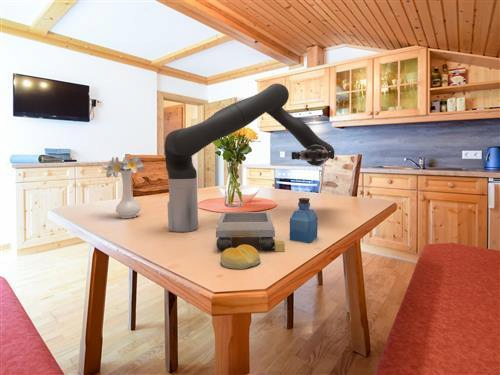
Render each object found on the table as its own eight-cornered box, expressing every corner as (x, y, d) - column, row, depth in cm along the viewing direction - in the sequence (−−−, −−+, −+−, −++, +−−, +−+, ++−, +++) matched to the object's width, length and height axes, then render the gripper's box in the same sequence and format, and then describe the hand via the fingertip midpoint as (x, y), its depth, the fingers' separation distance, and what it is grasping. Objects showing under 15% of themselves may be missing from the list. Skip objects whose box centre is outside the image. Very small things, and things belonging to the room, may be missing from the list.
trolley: (216, 252, 73) (215, 223, 73) (221, 236, 88) (221, 212, 87) (284, 251, 73) (284, 223, 73) (278, 235, 88) (278, 211, 88)
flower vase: (119, 213, 126) (116, 155, 124) (155, 215, 121) (153, 155, 118) (95, 219, 114) (91, 155, 111) (135, 222, 109) (131, 155, 106)
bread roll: (215, 261, 68) (214, 245, 67) (247, 254, 72) (247, 239, 72) (231, 273, 61) (231, 255, 60) (266, 265, 65) (266, 248, 65)
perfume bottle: (310, 243, 81) (310, 200, 79) (289, 240, 84) (289, 199, 83) (317, 237, 86) (317, 198, 85) (297, 235, 89) (298, 196, 88)
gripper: (297, 145, 109) (288, 144, 94) (336, 144, 105) (333, 143, 89) (297, 165, 110) (288, 167, 95) (336, 164, 105) (333, 167, 90)
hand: (310, 155), depth 92 cm, fingers open, 8 cm apart
